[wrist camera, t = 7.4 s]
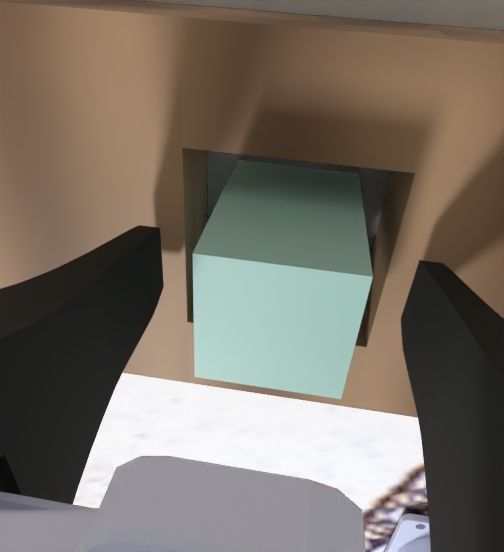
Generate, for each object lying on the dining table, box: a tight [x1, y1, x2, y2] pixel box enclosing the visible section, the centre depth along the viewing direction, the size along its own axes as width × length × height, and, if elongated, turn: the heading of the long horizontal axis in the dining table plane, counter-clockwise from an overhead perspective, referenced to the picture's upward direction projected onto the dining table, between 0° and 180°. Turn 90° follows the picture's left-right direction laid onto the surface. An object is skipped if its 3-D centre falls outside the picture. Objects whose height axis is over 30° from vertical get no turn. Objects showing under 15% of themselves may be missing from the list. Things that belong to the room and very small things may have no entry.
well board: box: [0, 0, 504, 417], centre depth 15 cm, size 22×12×3 cm, turn 86°
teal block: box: [192, 160, 373, 399], centre depth 14 cm, size 4×4×6 cm
